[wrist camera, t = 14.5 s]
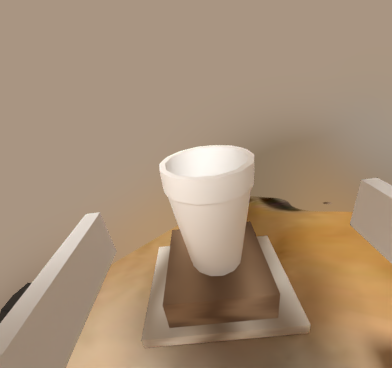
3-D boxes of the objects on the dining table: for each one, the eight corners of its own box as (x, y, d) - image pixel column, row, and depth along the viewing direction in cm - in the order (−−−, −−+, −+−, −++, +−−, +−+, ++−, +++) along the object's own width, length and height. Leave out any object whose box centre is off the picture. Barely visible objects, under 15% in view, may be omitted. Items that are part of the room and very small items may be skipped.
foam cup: (192, 228, 32) (178, 146, 26) (254, 233, 29) (255, 143, 23) (168, 281, 24) (141, 179, 18) (252, 295, 21) (251, 181, 15)
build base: (266, 242, 35) (267, 215, 32) (309, 333, 22) (315, 300, 20) (161, 253, 36) (154, 228, 33) (144, 347, 23) (131, 318, 21)
